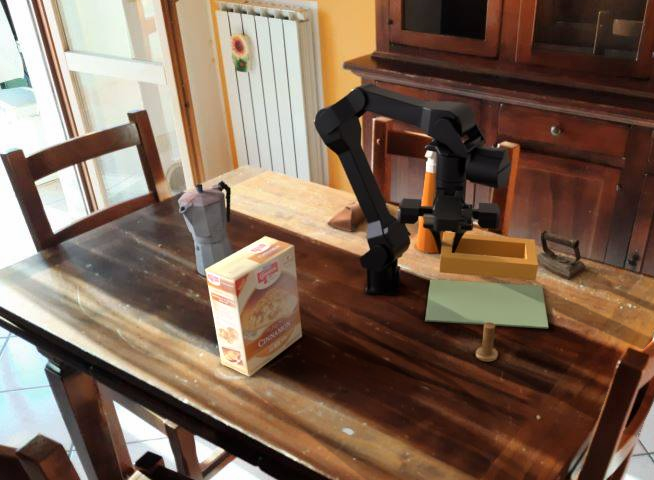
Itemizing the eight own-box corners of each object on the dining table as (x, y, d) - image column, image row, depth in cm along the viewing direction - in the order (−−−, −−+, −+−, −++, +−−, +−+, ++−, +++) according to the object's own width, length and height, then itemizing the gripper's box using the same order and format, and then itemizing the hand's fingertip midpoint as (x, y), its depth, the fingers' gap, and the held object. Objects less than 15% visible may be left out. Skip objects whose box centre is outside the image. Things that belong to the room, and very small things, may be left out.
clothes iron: (572, 282, 143) (567, 241, 138) (528, 276, 150) (522, 236, 146) (588, 268, 147) (584, 227, 142) (545, 263, 154) (539, 223, 150)
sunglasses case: (358, 198, 178) (369, 180, 173) (378, 215, 178) (390, 197, 173) (324, 224, 164) (335, 205, 160) (346, 242, 164) (357, 223, 160)
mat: (425, 321, 129) (425, 319, 129) (430, 281, 142) (430, 279, 142) (548, 328, 127) (548, 327, 127) (541, 287, 140) (542, 285, 140)
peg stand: (475, 361, 118) (478, 330, 114) (475, 348, 122) (478, 318, 118) (497, 362, 118) (501, 332, 114) (497, 349, 121) (500, 319, 117)
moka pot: (178, 278, 142) (159, 191, 131) (219, 248, 154) (206, 166, 143) (215, 286, 139) (199, 199, 128) (254, 255, 151) (243, 172, 140)
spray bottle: (458, 239, 159) (465, 131, 144) (436, 256, 152) (441, 144, 137) (433, 232, 162) (437, 125, 148) (410, 248, 155) (412, 138, 140)
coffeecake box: (249, 377, 114) (234, 280, 103) (220, 364, 117) (202, 268, 106) (304, 336, 124) (295, 244, 113) (275, 325, 127) (264, 234, 116)
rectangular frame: (439, 272, 123) (440, 256, 121) (442, 247, 132) (443, 232, 130) (535, 281, 122) (538, 265, 120) (532, 254, 130) (534, 239, 128)
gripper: (394, 191, 112) (393, 271, 121) (503, 197, 110) (495, 277, 119) (401, 168, 121) (400, 243, 130) (502, 173, 120) (494, 249, 128)
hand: (446, 254), depth 127 cm, fingers closed on rectangular frame, 2 cm apart
